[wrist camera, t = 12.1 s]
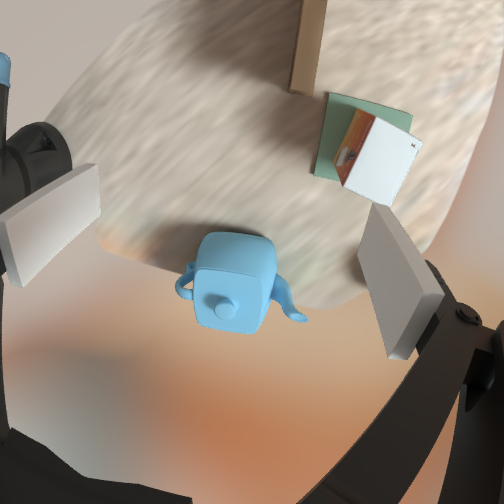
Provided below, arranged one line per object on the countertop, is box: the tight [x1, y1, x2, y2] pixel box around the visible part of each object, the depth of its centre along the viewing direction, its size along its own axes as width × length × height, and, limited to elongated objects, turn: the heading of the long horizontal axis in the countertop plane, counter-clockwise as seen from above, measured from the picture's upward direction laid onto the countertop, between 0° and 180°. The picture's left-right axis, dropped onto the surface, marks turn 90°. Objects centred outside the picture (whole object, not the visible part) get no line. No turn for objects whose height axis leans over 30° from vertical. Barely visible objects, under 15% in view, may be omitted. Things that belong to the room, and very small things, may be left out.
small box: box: [333, 108, 423, 208], centre depth 32 cm, size 8×6×10 cm
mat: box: [314, 93, 413, 181], centre depth 37 cm, size 11×11×1 cm
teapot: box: [175, 232, 308, 334], centre depth 43 cm, size 12×18×12 cm
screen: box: [288, 0, 327, 97], centre depth 25 cm, size 3×17×14 cm, turn 172°
